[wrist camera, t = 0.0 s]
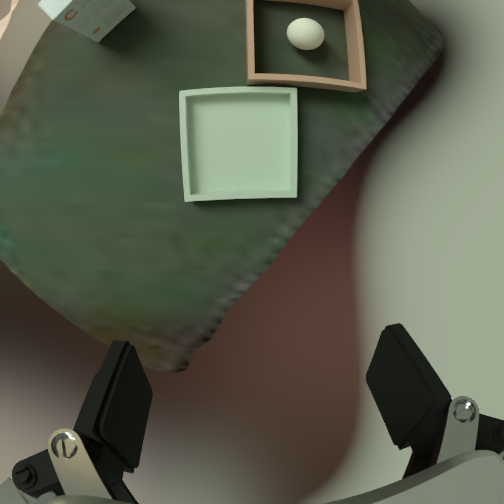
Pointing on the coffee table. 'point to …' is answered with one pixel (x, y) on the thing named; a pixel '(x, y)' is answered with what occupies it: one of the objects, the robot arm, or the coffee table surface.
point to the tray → (239, 142)
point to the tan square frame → (356, 83)
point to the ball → (305, 34)
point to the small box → (88, 15)
